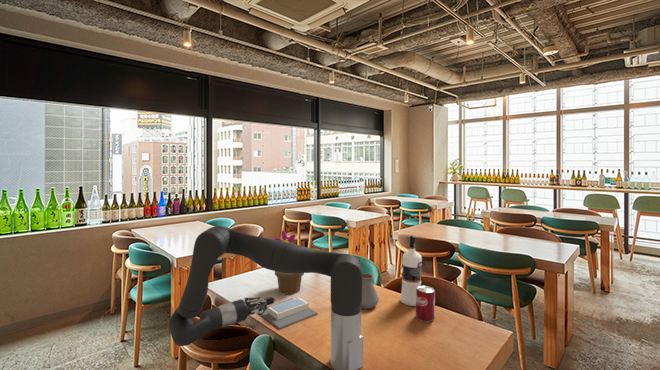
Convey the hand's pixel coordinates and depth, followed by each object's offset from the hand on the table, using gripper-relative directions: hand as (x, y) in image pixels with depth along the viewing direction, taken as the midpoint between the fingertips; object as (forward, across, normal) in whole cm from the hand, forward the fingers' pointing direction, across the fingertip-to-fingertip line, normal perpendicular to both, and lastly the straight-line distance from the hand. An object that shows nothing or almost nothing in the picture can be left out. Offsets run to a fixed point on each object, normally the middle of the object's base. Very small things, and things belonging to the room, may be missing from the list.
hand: (273, 299), depth 123 cm
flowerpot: (+20, +19, +8) cm, 29 cm away
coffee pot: (+35, -11, +8) cm, 38 cm away
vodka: (+54, -27, +8) cm, 61 cm away
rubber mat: (+6, 0, +8) cm, 10 cm away
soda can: (+46, -39, +8) cm, 61 cm away
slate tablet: (0, 0, +6) cm, 6 cm away
